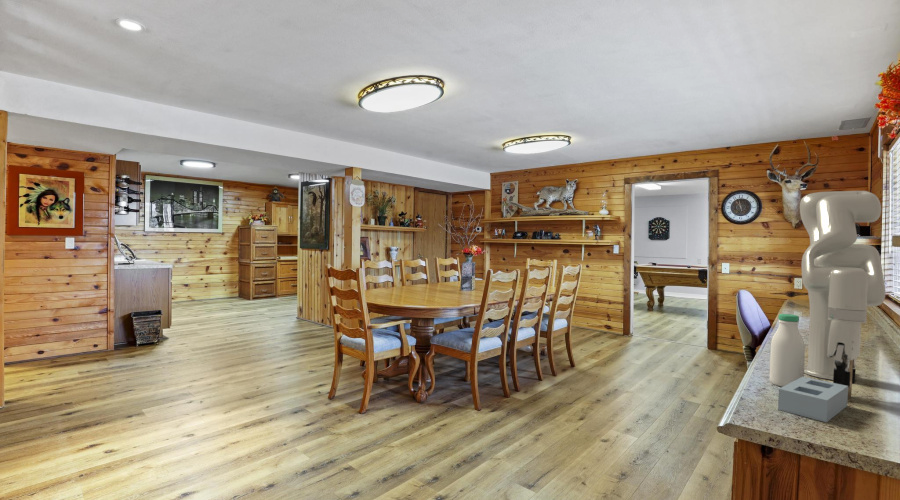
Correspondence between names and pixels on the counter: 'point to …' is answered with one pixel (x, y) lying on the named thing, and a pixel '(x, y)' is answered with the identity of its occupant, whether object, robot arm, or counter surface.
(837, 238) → the robot arm
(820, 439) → the counter surface
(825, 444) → the counter surface
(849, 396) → the peg
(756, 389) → the counter surface
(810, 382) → the hole block
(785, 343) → the milk bottle
